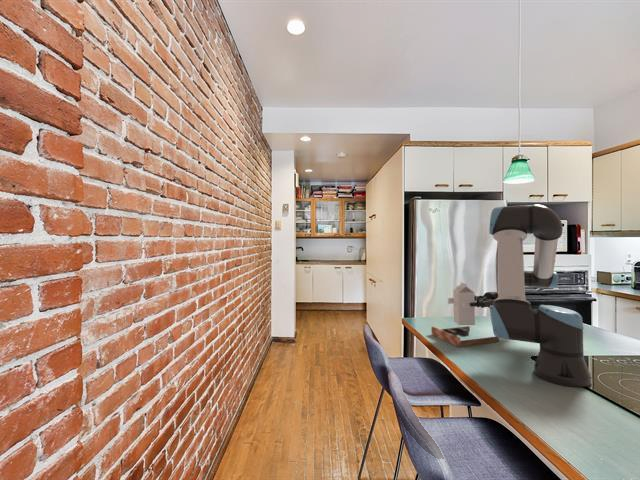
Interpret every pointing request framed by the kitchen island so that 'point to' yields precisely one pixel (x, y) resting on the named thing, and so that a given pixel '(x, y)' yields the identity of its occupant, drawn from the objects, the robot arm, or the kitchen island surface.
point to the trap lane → (452, 337)
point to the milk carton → (462, 314)
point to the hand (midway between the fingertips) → (455, 302)
